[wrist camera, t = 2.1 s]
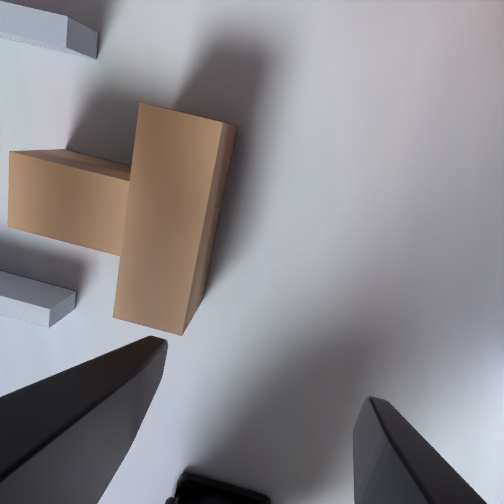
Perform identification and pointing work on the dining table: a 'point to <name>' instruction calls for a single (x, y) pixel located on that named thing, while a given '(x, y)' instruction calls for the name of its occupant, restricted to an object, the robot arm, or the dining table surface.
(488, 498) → the dining table surface
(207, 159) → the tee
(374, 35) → the dining table surface
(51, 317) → the white angled frame
